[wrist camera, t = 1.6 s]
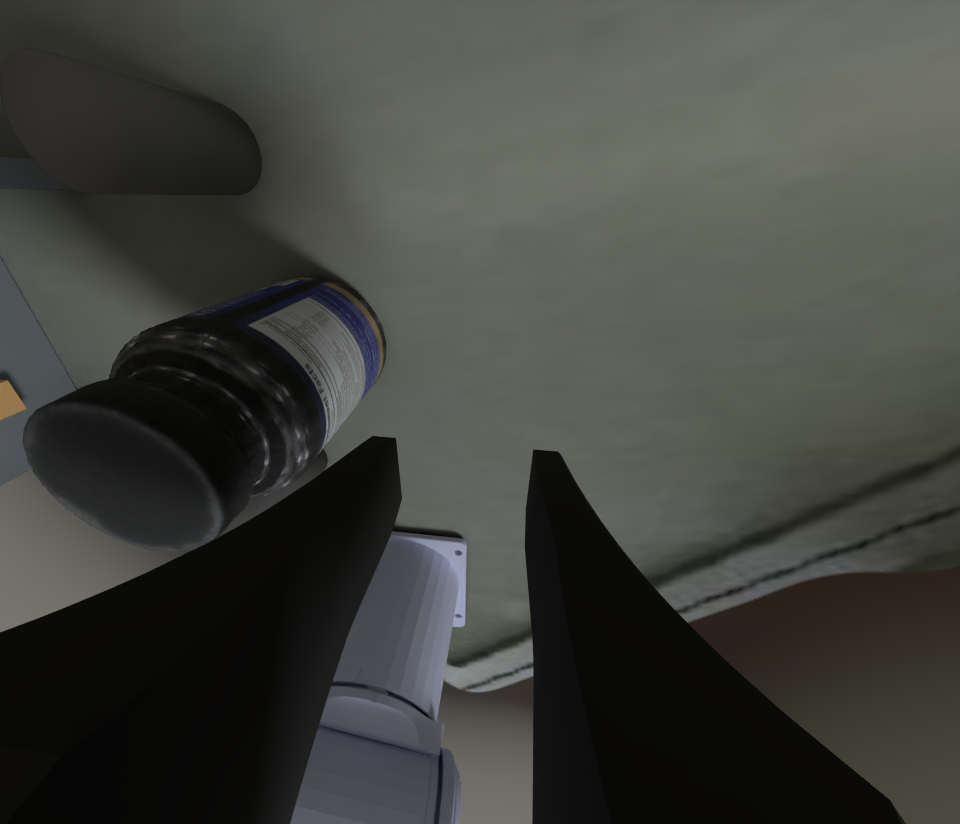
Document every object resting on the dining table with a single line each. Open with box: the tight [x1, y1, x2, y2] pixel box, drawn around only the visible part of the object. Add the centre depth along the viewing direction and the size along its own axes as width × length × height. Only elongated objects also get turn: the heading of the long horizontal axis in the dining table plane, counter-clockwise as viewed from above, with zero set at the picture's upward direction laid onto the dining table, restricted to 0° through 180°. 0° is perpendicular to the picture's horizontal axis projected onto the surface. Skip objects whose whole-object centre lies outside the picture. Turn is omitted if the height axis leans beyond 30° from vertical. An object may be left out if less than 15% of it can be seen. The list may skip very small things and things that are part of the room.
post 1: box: [0, 49, 261, 195], centre depth 12 cm, size 3×3×6 cm
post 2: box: [217, 449, 328, 538], centre depth 20 cm, size 3×3×6 cm
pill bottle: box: [23, 276, 386, 552], centre depth 14 cm, size 6×6×11 cm
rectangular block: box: [0, 156, 76, 485], centre depth 17 cm, size 14×7×6 cm, turn 178°
